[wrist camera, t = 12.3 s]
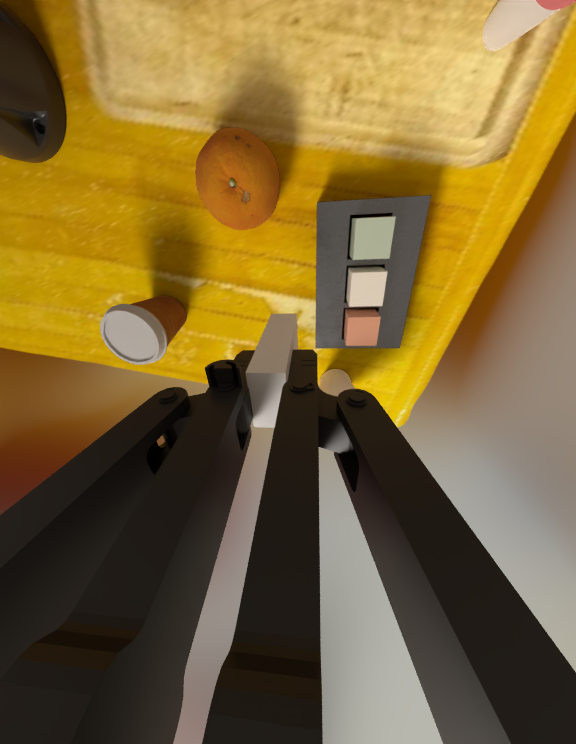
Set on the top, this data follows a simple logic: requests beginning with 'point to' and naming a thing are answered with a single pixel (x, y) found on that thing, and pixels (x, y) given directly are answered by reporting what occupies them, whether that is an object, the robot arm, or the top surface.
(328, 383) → the cup
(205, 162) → the fruit
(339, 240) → the panel
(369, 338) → the key terracotta
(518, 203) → the top surface
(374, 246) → the key sage
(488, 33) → the cup
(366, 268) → the key cream
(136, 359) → the disposable coffee cup
